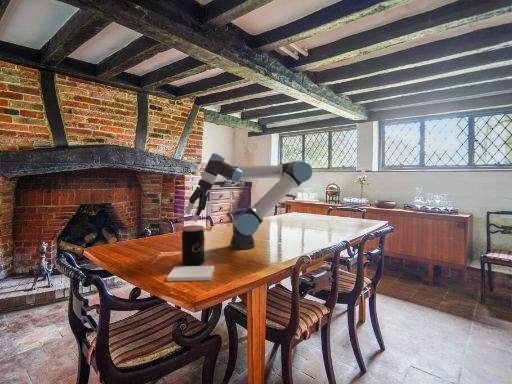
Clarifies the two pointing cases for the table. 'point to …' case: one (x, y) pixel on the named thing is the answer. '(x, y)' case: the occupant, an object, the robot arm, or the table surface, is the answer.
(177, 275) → the plate
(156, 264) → the table surface
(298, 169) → the robot arm
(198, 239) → the coffee jar
